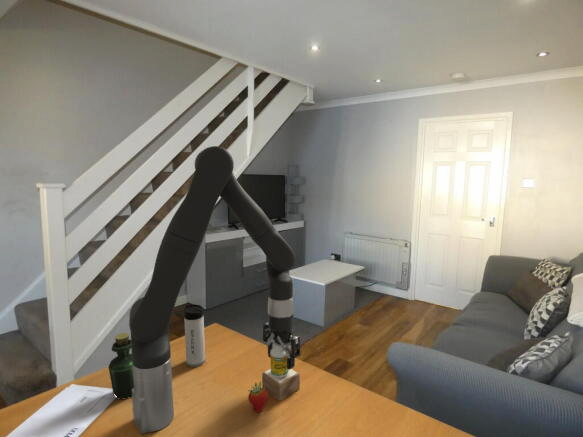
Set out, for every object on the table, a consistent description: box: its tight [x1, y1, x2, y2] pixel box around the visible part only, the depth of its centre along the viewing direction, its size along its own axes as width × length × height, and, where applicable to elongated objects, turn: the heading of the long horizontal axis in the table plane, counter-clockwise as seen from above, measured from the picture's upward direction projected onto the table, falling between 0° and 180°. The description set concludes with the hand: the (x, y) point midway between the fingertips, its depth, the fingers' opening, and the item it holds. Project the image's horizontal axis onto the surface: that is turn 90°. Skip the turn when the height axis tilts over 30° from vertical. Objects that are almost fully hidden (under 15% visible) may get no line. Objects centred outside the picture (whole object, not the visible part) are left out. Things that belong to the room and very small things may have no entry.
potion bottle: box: [107, 332, 134, 400], centre depth 101 cm, size 8×8×18 cm
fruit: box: [247, 381, 269, 413], centre depth 94 cm, size 5×5×8 cm
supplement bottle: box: [269, 341, 288, 378], centre depth 102 cm, size 5×5×10 cm
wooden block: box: [261, 368, 301, 402], centre depth 104 cm, size 8×8×5 cm
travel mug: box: [183, 303, 206, 368], centre depth 117 cm, size 6×7×20 cm
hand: (280, 362), depth 103 cm, fingers open, 8 cm apart
